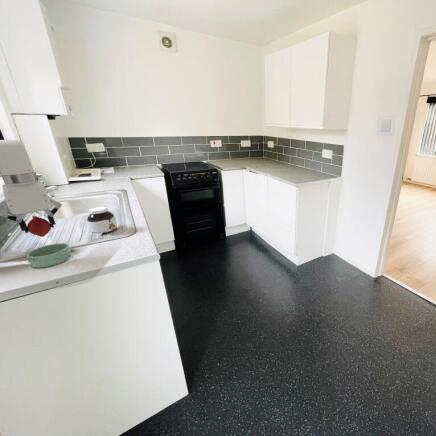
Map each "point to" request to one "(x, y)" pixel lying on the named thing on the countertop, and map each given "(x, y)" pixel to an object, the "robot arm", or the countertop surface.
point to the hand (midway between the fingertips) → (40, 228)
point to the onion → (39, 226)
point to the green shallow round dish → (40, 260)
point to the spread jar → (101, 220)
